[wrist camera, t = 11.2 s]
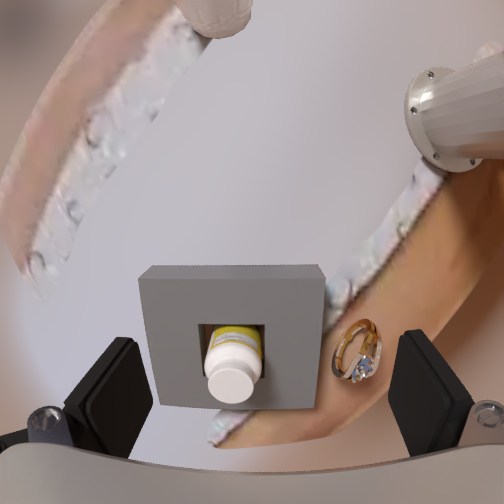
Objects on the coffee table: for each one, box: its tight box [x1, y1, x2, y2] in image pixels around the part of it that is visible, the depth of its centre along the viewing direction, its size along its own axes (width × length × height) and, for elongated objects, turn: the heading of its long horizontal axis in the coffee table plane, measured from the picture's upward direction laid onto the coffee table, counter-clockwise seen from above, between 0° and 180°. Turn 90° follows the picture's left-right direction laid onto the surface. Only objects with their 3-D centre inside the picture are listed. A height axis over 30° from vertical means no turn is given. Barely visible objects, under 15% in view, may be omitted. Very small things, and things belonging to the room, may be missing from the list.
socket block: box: [138, 265, 326, 410], centre depth 34 cm, size 18×16×4 cm
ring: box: [332, 319, 381, 383], centre depth 32 cm, size 7×3×8 cm, turn 145°
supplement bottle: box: [204, 324, 262, 404], centre depth 31 cm, size 5×5×10 cm
